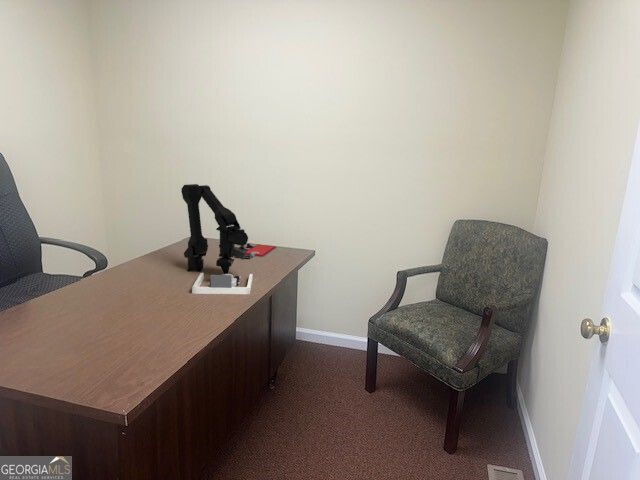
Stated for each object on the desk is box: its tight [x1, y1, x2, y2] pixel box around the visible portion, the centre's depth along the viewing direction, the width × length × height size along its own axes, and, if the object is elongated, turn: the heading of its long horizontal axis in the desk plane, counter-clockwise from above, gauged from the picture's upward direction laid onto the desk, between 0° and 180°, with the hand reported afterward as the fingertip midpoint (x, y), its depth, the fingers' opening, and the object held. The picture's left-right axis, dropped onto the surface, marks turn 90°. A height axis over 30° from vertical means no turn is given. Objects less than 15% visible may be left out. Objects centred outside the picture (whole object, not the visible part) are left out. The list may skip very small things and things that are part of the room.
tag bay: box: [191, 272, 254, 295], centre depth 175 cm, size 22×19×8 cm
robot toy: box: [208, 273, 241, 287], centre depth 176 cm, size 12×4×15 cm
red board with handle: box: [244, 242, 277, 259], centre depth 232 cm, size 30×3×15 cm
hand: (226, 276), depth 184 cm, fingers closed
